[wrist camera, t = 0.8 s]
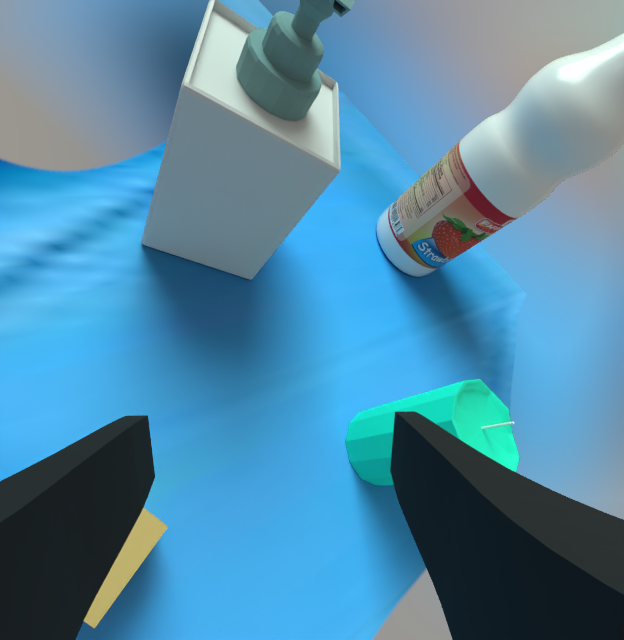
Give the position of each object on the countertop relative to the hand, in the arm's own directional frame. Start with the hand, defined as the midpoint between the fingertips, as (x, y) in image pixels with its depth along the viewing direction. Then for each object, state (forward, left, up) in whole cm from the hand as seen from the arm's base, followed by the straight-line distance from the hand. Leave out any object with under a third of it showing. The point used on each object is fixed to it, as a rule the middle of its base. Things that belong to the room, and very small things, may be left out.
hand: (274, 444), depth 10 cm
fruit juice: (+34, -5, -14) cm, 37 cm away
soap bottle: (+16, +11, -14) cm, 23 cm away
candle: (+11, -12, -14) cm, 21 cm away
